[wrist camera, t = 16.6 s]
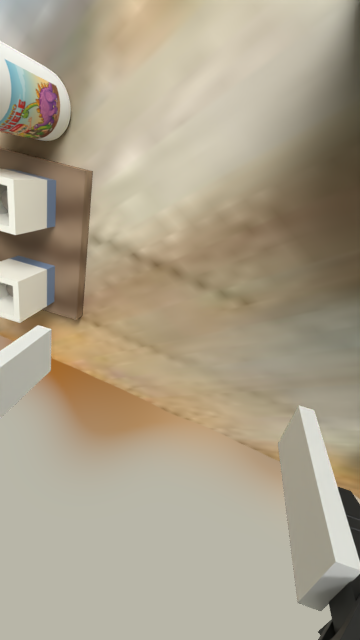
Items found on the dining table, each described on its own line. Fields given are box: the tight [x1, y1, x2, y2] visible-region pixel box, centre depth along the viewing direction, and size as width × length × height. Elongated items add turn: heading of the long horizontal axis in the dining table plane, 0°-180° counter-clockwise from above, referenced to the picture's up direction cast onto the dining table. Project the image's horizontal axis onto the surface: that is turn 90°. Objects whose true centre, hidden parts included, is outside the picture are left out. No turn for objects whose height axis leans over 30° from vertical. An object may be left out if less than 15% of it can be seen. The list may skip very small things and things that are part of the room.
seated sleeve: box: [0, 169, 56, 235], centre depth 37 cm, size 6×6×8 cm
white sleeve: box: [0, 256, 55, 323], centre depth 42 cm, size 6×6×8 cm
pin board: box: [0, 148, 93, 320], centre depth 42 cm, size 22×14×7 cm, turn 167°
